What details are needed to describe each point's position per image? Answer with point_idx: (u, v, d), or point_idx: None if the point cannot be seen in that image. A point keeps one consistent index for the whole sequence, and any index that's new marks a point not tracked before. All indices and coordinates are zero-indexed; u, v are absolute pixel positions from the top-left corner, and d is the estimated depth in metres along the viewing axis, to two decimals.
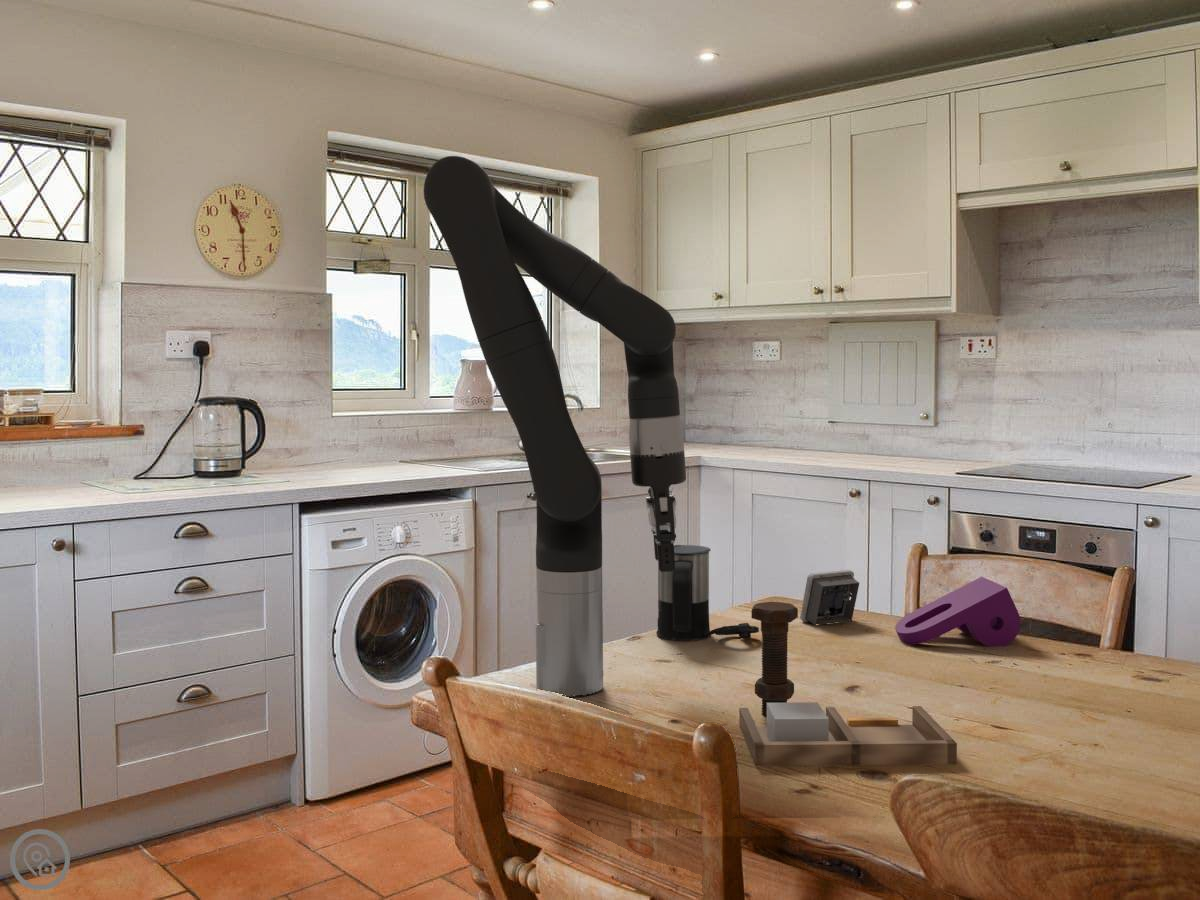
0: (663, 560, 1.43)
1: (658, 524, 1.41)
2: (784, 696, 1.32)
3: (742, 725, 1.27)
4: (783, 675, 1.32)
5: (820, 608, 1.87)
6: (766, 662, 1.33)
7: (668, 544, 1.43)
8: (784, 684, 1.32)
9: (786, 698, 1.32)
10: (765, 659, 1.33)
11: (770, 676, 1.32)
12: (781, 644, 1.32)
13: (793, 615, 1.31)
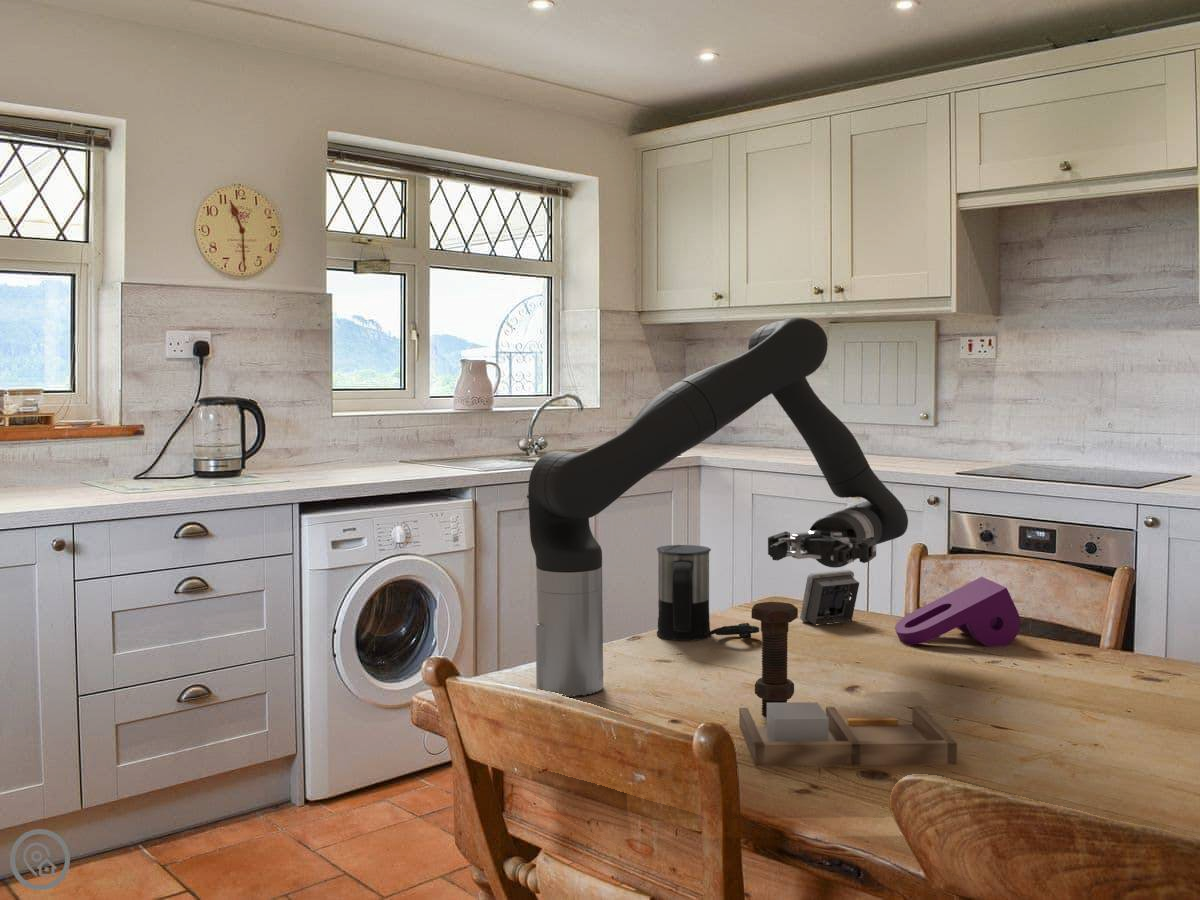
0: (847, 552, 1.41)
1: (871, 544, 1.45)
2: (784, 696, 1.32)
3: (742, 725, 1.27)
4: (783, 675, 1.32)
5: (820, 608, 1.87)
6: (766, 662, 1.33)
7: (853, 556, 1.43)
8: (784, 684, 1.32)
9: (786, 698, 1.32)
10: (765, 659, 1.33)
11: (770, 676, 1.32)
12: (781, 644, 1.32)
13: (793, 615, 1.31)
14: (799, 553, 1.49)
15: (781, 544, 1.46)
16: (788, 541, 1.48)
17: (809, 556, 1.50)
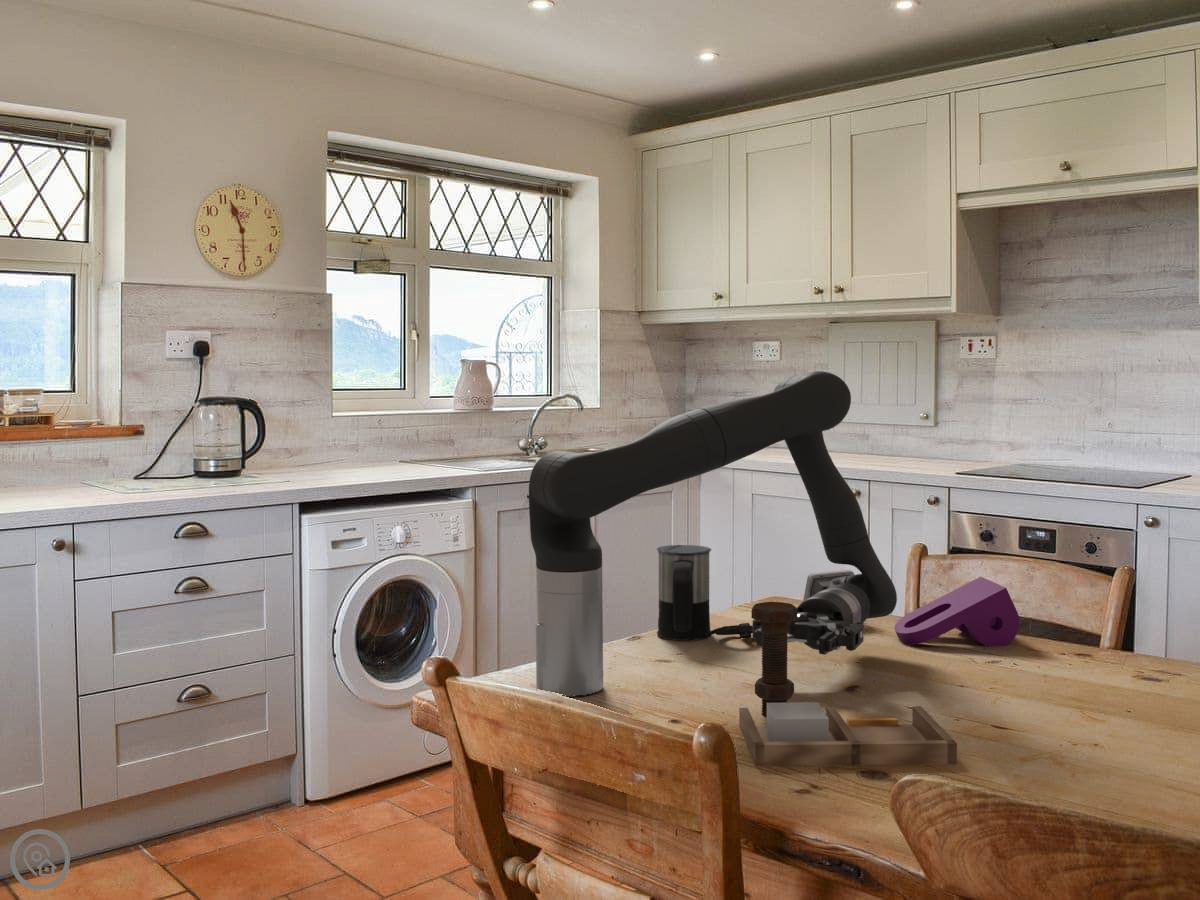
0: (833, 641, 1.37)
1: (858, 630, 1.41)
2: (784, 696, 1.32)
3: (742, 725, 1.27)
4: (783, 675, 1.32)
5: None
6: (766, 662, 1.33)
7: (840, 643, 1.39)
8: (784, 684, 1.32)
9: (786, 698, 1.32)
10: (765, 659, 1.33)
11: (770, 676, 1.32)
12: (781, 644, 1.32)
13: (793, 615, 1.31)
14: None
15: None
16: None
17: (795, 640, 1.46)
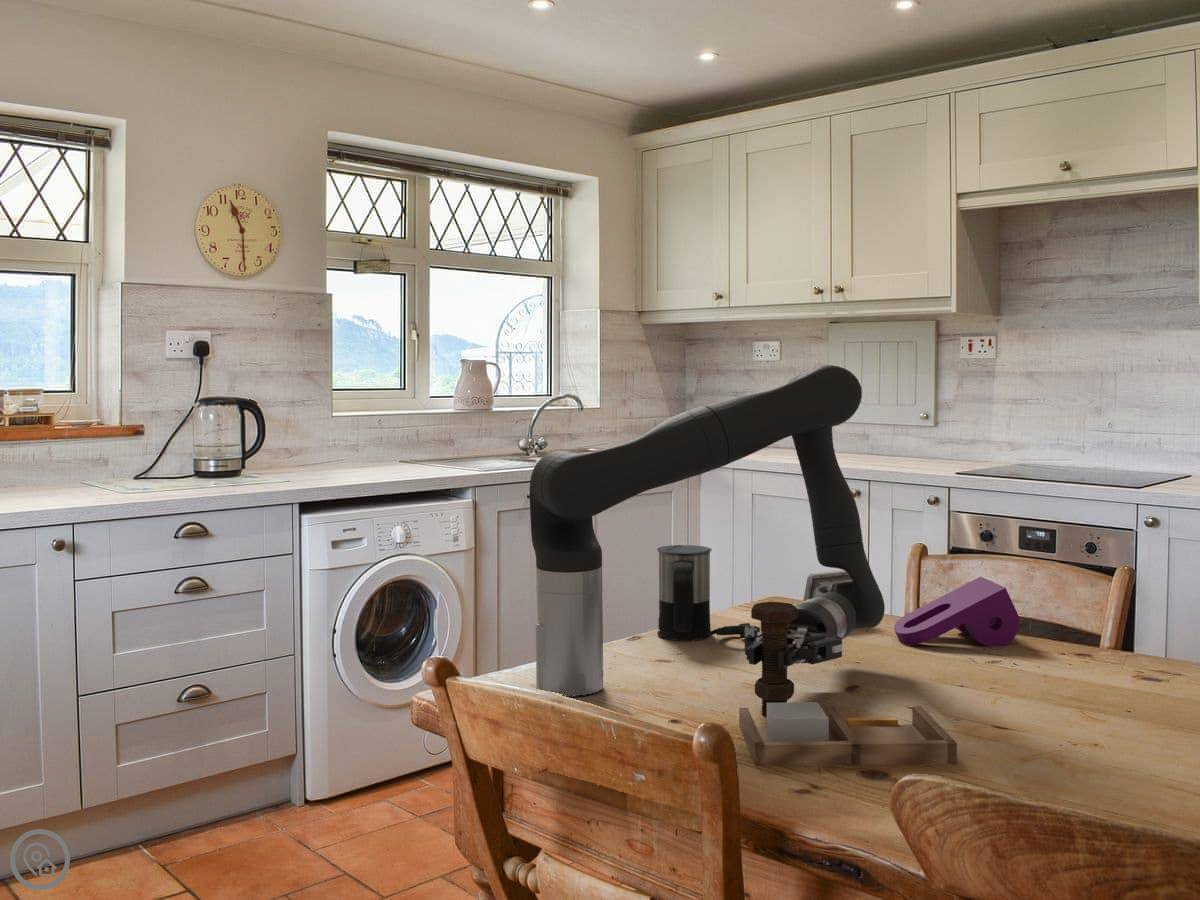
0: (793, 654, 1.31)
1: (825, 644, 1.34)
2: (784, 696, 1.32)
3: (742, 725, 1.27)
4: (783, 675, 1.32)
5: None
6: (766, 662, 1.33)
7: (801, 657, 1.33)
8: (784, 684, 1.32)
9: (786, 698, 1.32)
10: (765, 659, 1.33)
11: (770, 676, 1.32)
12: (781, 644, 1.32)
13: (793, 615, 1.32)
14: None
15: (759, 646, 1.33)
16: None
17: None
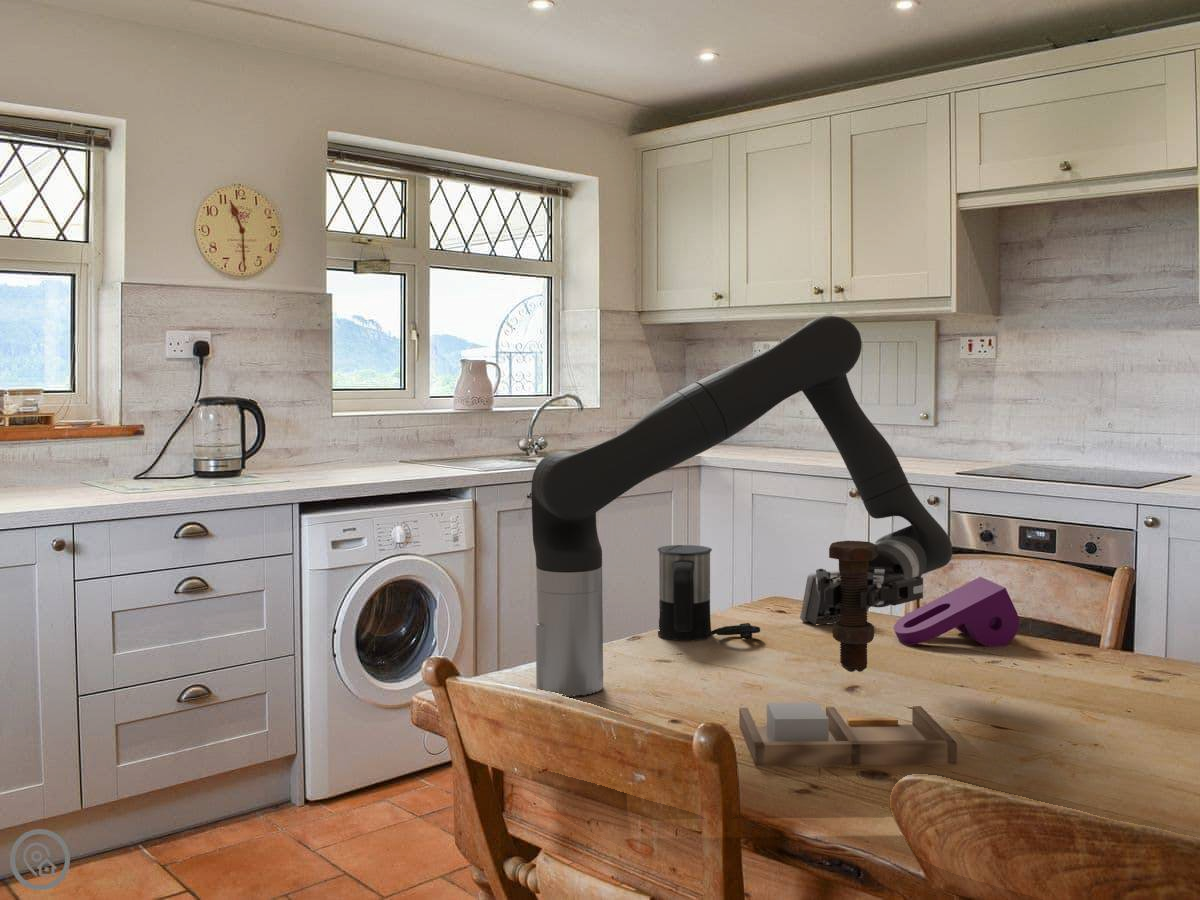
0: (876, 594, 1.23)
1: (907, 584, 1.26)
2: (865, 639, 1.24)
3: (742, 725, 1.27)
4: (863, 617, 1.25)
5: (820, 608, 1.87)
6: (845, 604, 1.25)
7: (882, 597, 1.25)
8: (865, 626, 1.25)
9: (867, 641, 1.24)
10: (844, 600, 1.25)
11: (850, 618, 1.25)
12: (861, 584, 1.24)
13: (874, 553, 1.24)
14: None
15: (837, 587, 1.26)
16: None
17: None
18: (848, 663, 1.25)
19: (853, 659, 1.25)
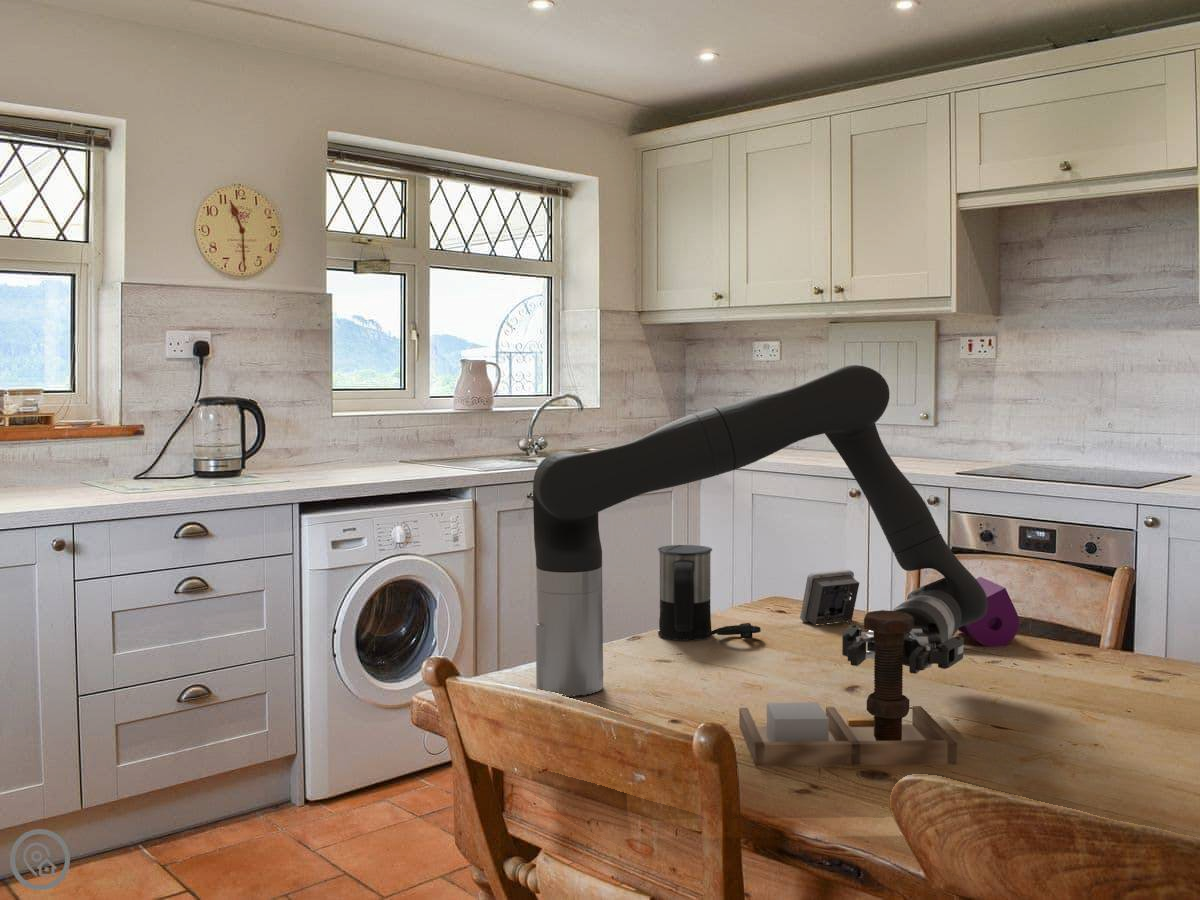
0: (925, 658, 1.19)
1: (954, 646, 1.23)
2: (900, 714, 1.21)
3: (742, 725, 1.27)
4: (899, 691, 1.22)
5: (820, 608, 1.87)
6: (880, 676, 1.22)
7: (931, 660, 1.21)
8: (900, 700, 1.21)
9: (902, 716, 1.21)
10: (879, 673, 1.22)
11: (885, 691, 1.21)
12: (897, 657, 1.21)
13: (910, 625, 1.21)
14: None
15: (861, 646, 1.23)
16: (868, 640, 1.26)
17: None
18: (882, 737, 1.22)
19: (887, 734, 1.22)
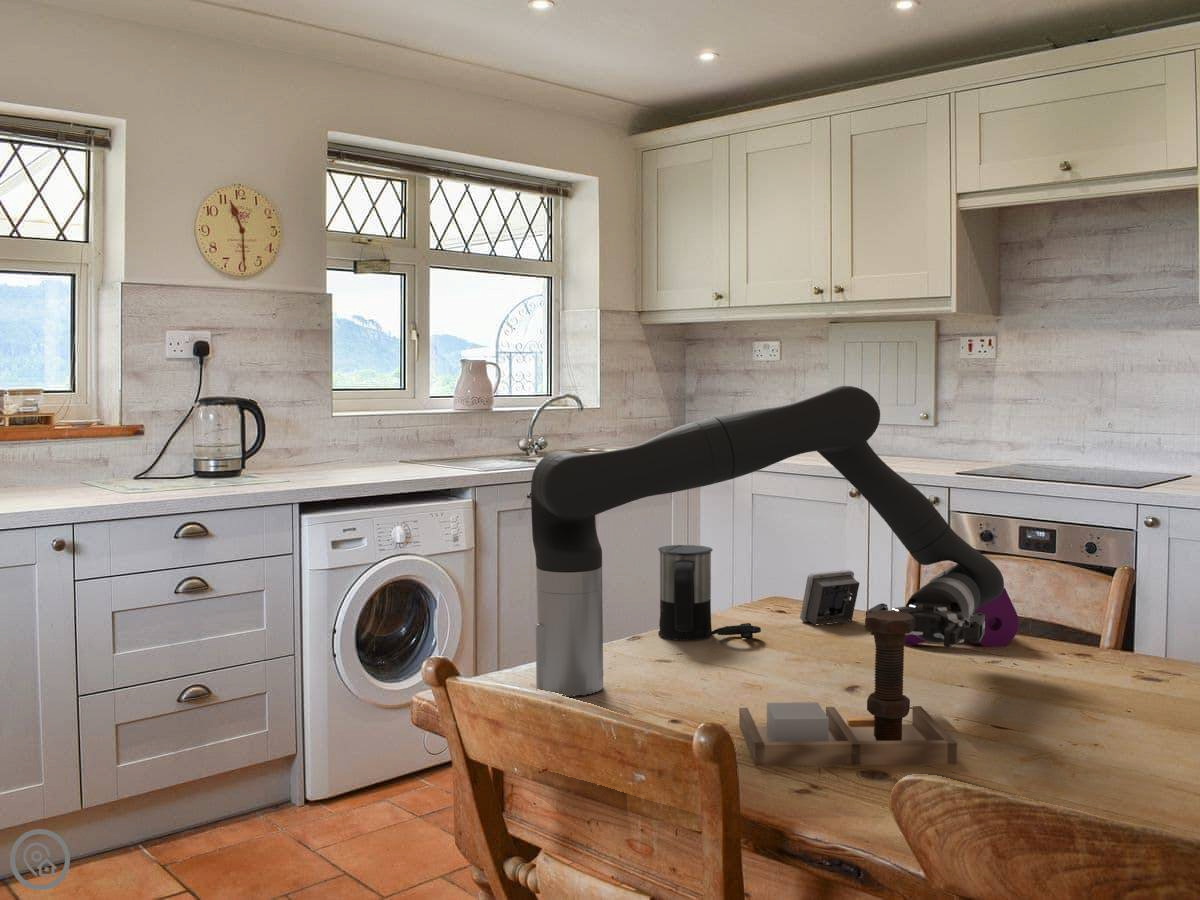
0: (958, 633, 1.30)
1: (981, 622, 1.33)
2: (901, 714, 1.21)
3: (742, 725, 1.27)
4: (899, 691, 1.22)
5: (820, 608, 1.87)
6: (881, 676, 1.22)
7: (964, 636, 1.32)
8: (900, 700, 1.21)
9: (903, 716, 1.21)
10: (879, 673, 1.22)
11: (885, 691, 1.21)
12: (898, 657, 1.21)
13: (911, 625, 1.21)
14: None
15: None
16: None
17: None
18: (882, 737, 1.22)
19: (887, 734, 1.22)
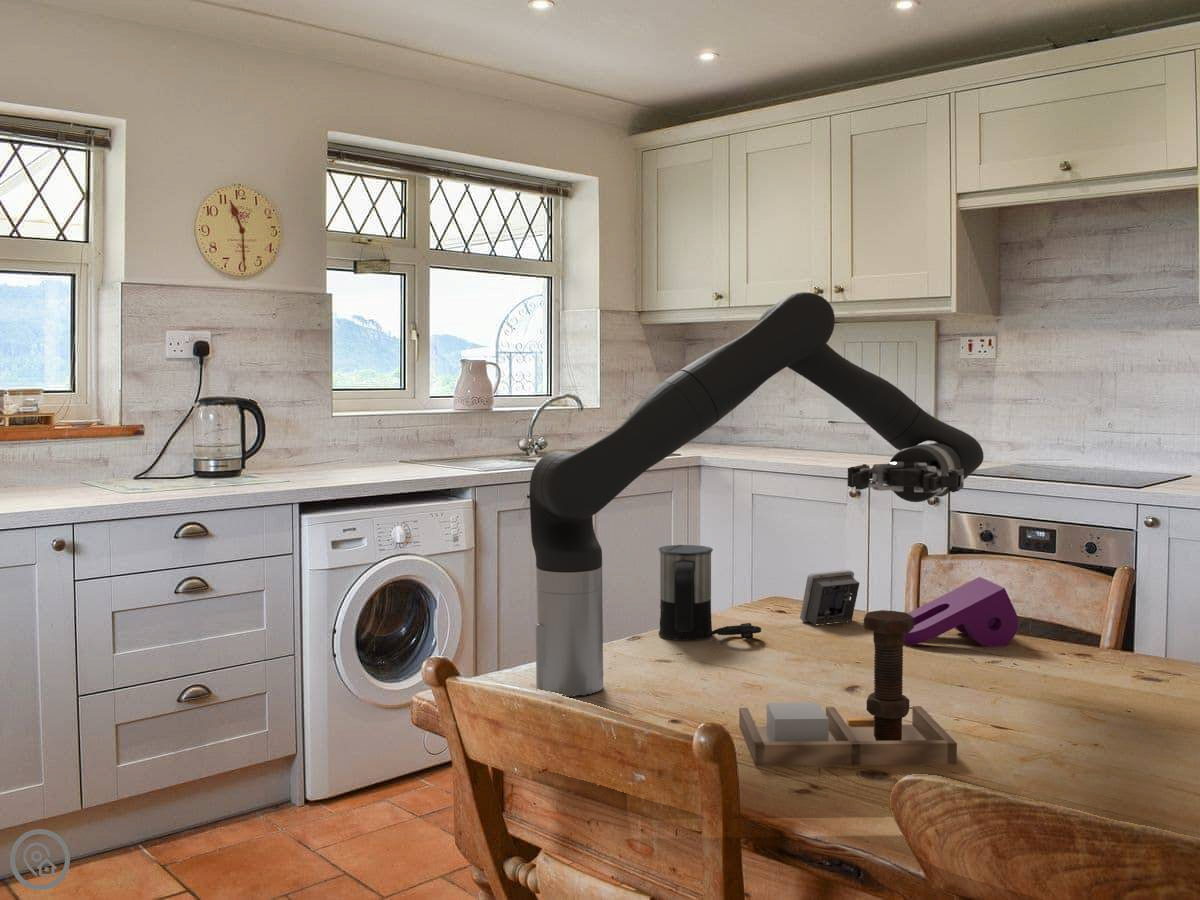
0: (937, 479, 1.33)
1: (960, 473, 1.37)
2: (900, 713, 1.21)
3: (742, 725, 1.27)
4: (898, 690, 1.22)
5: (820, 608, 1.87)
6: (880, 676, 1.22)
7: (942, 484, 1.35)
8: (900, 700, 1.21)
9: (902, 716, 1.21)
10: (879, 673, 1.22)
11: (885, 691, 1.21)
12: (897, 657, 1.21)
13: (910, 625, 1.21)
14: (881, 484, 1.41)
15: (864, 473, 1.38)
16: (870, 471, 1.40)
17: (891, 488, 1.42)
18: (882, 737, 1.22)
19: (887, 734, 1.22)
